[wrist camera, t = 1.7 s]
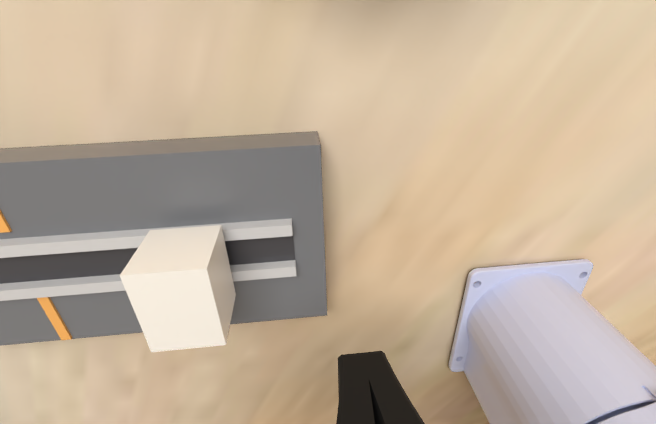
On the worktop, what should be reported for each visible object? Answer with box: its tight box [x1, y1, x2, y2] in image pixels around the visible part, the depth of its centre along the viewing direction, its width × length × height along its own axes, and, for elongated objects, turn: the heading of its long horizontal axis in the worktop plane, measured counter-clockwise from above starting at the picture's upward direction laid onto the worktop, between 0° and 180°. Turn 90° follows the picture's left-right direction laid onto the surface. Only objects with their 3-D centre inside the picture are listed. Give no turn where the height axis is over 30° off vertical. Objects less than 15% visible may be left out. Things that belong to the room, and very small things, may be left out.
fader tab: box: [120, 225, 236, 352], centre depth 15 cm, size 4×3×4 cm
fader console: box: [0, 131, 327, 345], centre depth 17 cm, size 10×20×3 cm, turn 92°
